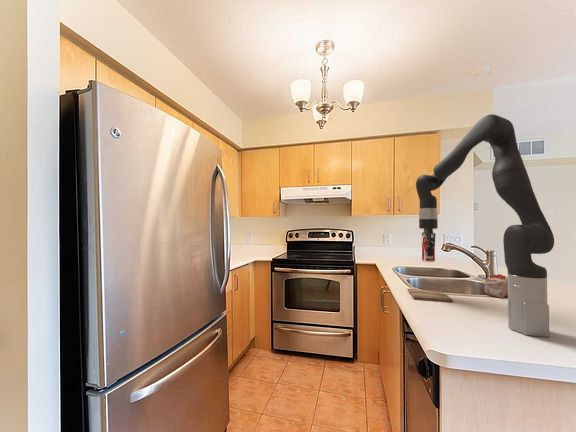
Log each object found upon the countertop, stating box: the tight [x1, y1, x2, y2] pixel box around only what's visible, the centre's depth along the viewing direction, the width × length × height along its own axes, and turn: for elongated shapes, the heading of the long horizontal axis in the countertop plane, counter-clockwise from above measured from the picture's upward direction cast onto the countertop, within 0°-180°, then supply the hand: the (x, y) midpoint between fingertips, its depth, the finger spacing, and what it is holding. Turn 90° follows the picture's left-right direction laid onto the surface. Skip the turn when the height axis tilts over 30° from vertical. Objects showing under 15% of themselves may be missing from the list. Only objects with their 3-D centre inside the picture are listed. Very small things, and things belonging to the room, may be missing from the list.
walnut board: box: [407, 288, 454, 303], centre depth 121 cm, size 15×15×1 cm
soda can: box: [421, 236, 436, 263], centre depth 121 cm, size 5×5×12 cm
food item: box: [483, 273, 508, 299], centre depth 123 cm, size 14×8×10 cm, turn 127°
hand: (428, 255), depth 121 cm, fingers closed on soda can, 5 cm apart
